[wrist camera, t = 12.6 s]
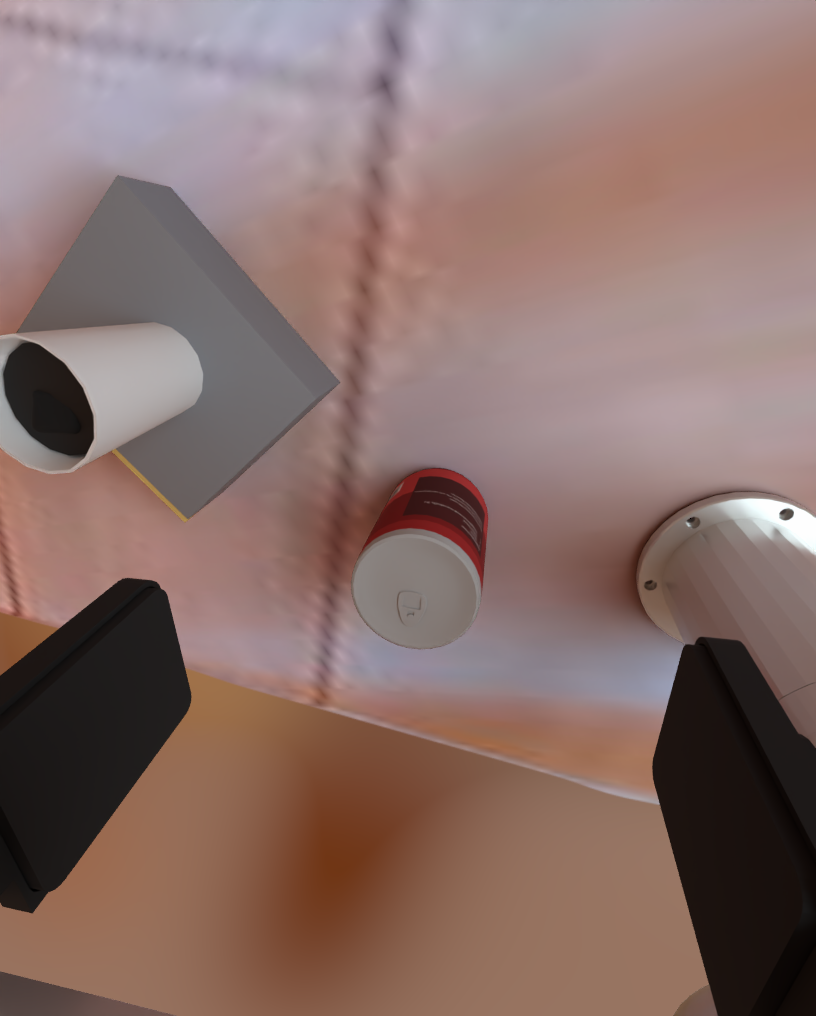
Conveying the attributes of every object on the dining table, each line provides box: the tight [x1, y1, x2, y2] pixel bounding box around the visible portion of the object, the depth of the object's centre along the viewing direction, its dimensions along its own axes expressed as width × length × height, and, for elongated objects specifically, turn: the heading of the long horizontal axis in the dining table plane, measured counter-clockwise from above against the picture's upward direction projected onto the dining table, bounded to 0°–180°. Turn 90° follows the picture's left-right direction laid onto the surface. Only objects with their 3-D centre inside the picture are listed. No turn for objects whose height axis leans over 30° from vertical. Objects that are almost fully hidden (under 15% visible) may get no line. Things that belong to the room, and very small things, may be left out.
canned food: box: [351, 468, 488, 649], centre depth 35 cm, size 8×8×11 cm
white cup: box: [0, 322, 203, 474], centre depth 29 cm, size 7×7×10 cm
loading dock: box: [17, 175, 340, 522], centre depth 36 cm, size 16×15×5 cm
